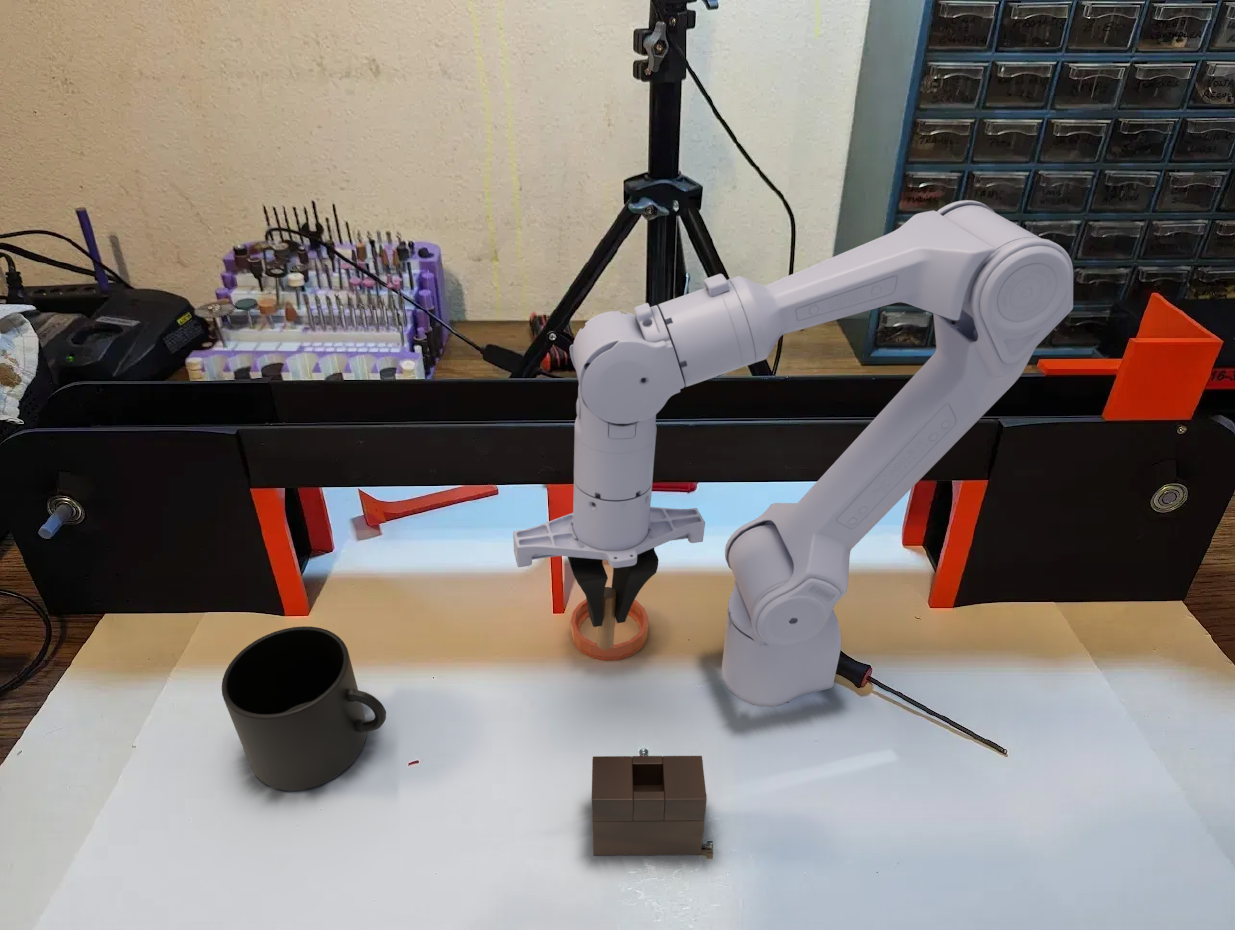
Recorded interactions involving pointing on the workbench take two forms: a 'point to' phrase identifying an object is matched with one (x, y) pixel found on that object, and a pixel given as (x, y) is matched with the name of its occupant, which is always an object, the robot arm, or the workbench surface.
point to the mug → (298, 707)
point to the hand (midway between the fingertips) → (606, 616)
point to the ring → (617, 649)
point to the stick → (607, 620)
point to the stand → (648, 805)
